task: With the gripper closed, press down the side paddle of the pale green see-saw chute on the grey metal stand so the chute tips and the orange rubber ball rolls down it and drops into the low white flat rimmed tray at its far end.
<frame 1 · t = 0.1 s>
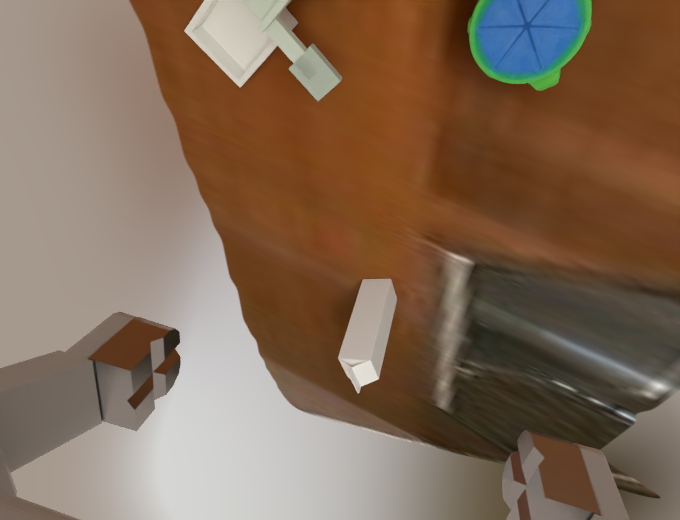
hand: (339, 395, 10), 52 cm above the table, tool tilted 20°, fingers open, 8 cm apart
milk: (380, 288, 87), on the table
white flat rimmed tray: (245, 23, 57), on the table
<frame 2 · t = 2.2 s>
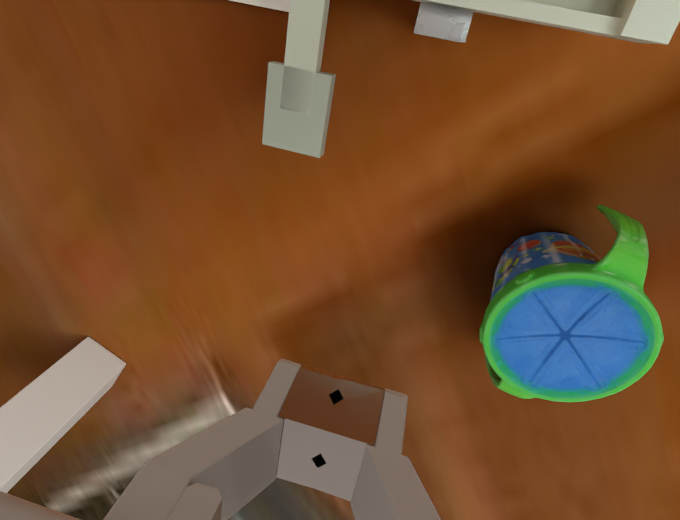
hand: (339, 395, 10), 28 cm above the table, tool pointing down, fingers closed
milk: (102, 360, 57), on the table
snack cup: (541, 268, 37), on the table
lever: (440, 43, 23), point 9 cm above the table, hinge at 0.0°, touching ball
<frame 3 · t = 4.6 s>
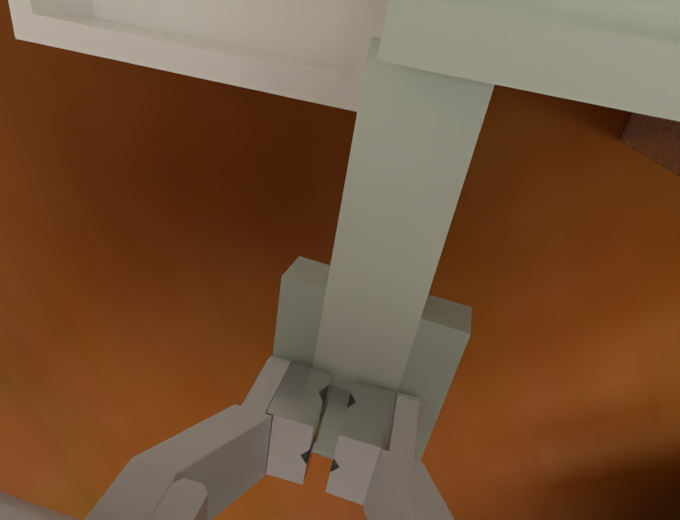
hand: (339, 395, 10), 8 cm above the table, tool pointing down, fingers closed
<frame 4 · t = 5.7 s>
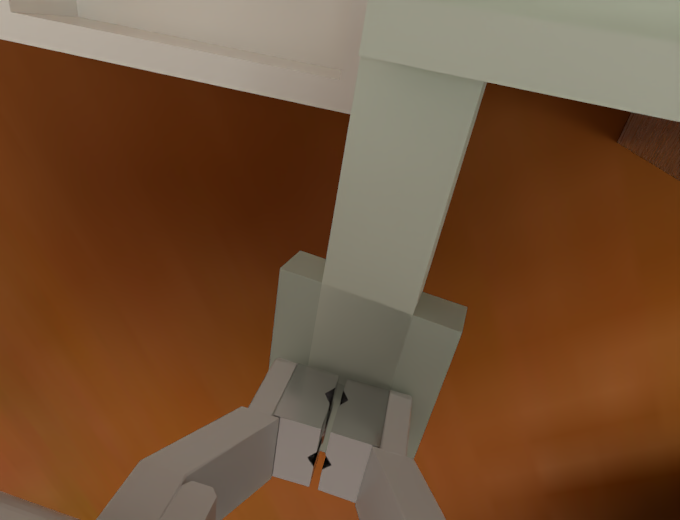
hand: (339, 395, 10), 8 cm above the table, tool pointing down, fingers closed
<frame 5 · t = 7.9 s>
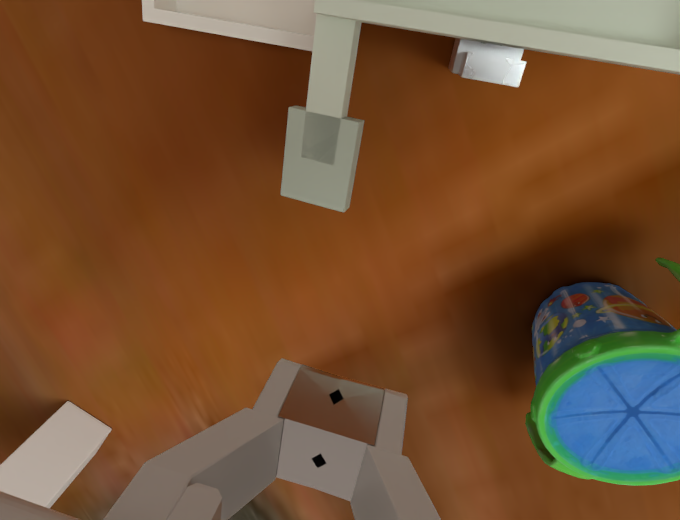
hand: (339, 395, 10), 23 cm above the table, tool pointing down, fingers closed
milk: (84, 425, 51), on the table
snack cup: (582, 319, 33), on the table
lever: (488, 87, 19), point 9 cm above the table, hinge at 8.0°
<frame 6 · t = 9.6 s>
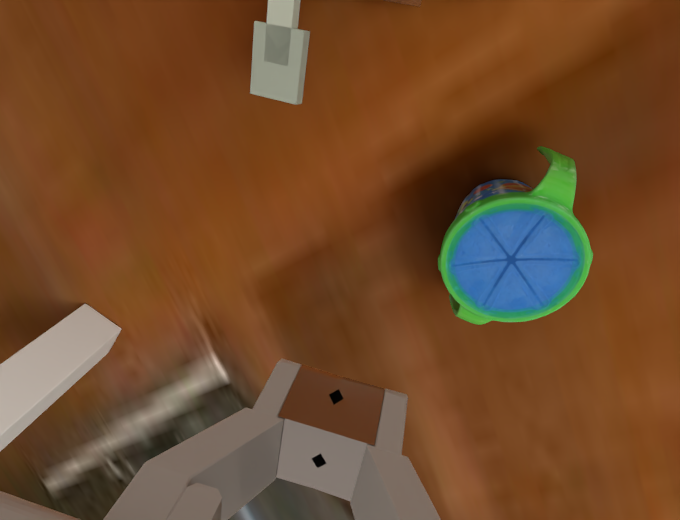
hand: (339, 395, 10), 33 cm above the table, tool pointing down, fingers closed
milk: (98, 327, 60), on the table
snack cup: (498, 215, 41), on the table
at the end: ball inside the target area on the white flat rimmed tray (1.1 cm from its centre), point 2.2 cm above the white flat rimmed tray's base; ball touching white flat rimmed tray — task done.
